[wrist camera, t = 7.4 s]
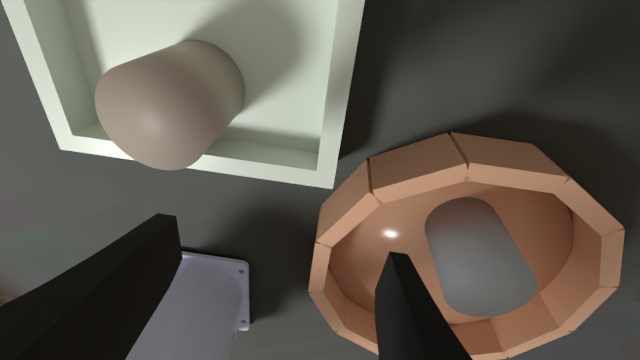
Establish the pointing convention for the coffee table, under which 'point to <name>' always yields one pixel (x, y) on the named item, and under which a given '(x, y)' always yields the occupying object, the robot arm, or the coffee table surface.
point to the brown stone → (170, 103)
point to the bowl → (409, 238)
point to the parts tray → (232, 37)
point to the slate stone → (477, 259)
